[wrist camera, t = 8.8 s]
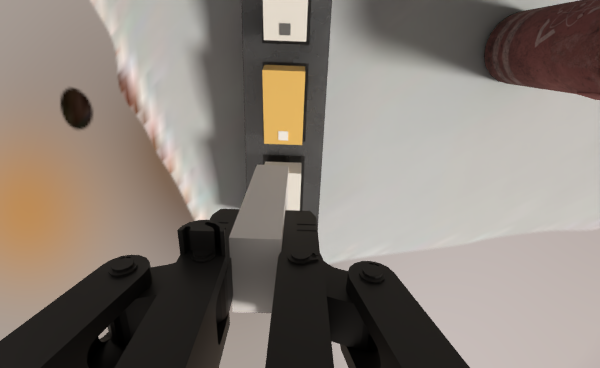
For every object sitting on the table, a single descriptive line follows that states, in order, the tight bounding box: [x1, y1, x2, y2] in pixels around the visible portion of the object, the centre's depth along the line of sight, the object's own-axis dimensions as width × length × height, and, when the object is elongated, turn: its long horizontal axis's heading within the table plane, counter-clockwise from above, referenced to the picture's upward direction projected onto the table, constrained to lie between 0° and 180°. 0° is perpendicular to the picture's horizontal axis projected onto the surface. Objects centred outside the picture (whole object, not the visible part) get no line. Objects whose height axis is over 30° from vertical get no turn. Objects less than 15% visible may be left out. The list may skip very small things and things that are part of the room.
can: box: [484, 0, 600, 100], centre depth 24 cm, size 6×6×14 cm
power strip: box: [242, 0, 332, 230], centre depth 29 cm, size 31×7×4 cm, turn 178°
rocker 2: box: [264, 162, 301, 211], centre depth 30 cm, size 6×3×2 cm, turn 178°
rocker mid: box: [262, 65, 305, 145], centre depth 27 cm, size 6×3×2 cm, turn 178°
